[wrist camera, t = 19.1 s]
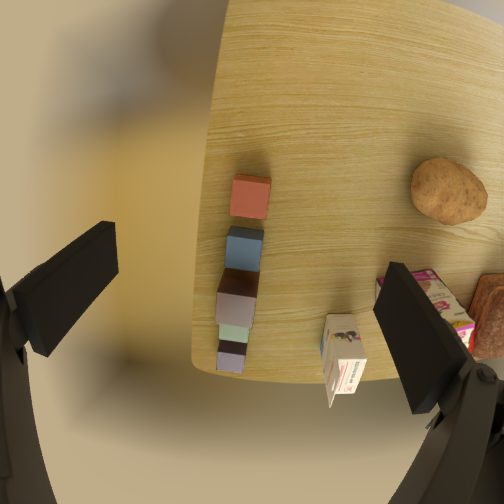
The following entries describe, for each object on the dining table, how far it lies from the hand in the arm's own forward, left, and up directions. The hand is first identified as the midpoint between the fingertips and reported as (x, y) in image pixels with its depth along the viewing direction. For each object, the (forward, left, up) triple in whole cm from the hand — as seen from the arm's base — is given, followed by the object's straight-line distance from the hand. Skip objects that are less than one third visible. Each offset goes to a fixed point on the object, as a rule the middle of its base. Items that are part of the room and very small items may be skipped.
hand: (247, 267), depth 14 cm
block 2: (+7, -10, -31) cm, 33 cm away
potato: (+19, +19, -31) cm, 41 cm away
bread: (+56, +24, -31) cm, 68 cm away
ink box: (+30, -10, -31) cm, 44 cm away
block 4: (+21, -27, -31) cm, 46 cm away
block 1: (+1, -4, -31) cm, 31 cm away
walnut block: (+11, -16, -31) cm, 36 cm away
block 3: (+16, -21, -31) cm, 40 cm away
